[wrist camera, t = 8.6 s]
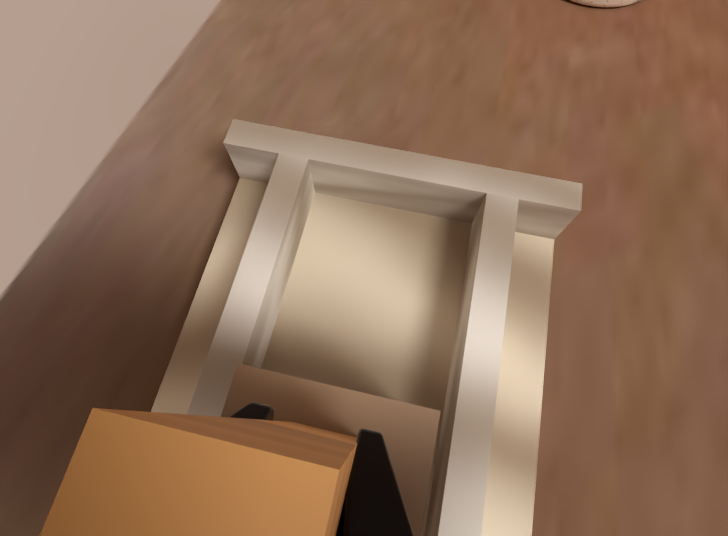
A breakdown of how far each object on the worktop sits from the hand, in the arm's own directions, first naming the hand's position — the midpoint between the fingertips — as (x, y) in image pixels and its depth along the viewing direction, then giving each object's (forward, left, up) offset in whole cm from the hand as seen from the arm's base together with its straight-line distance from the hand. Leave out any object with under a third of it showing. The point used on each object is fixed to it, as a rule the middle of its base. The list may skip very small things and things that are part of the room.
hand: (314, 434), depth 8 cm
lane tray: (+2, 0, -10) cm, 10 cm away
